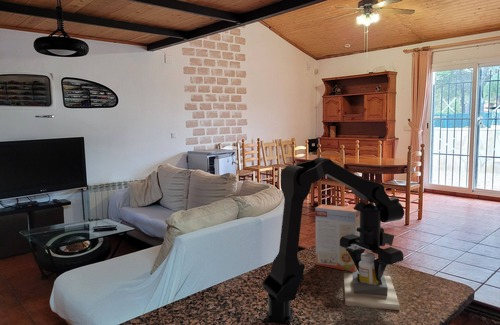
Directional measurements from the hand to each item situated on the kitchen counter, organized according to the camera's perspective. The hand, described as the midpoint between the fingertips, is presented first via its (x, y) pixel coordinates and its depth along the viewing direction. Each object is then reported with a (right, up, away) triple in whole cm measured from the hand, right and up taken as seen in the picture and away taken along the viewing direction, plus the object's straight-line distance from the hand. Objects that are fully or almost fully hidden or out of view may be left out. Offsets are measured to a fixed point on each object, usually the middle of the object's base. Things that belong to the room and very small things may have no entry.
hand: (369, 276), depth 109 cm
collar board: (0, -5, +1) cm, 5 cm away
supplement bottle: (0, -4, 0) cm, 4 cm away
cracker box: (-5, -3, +20) cm, 21 cm away
